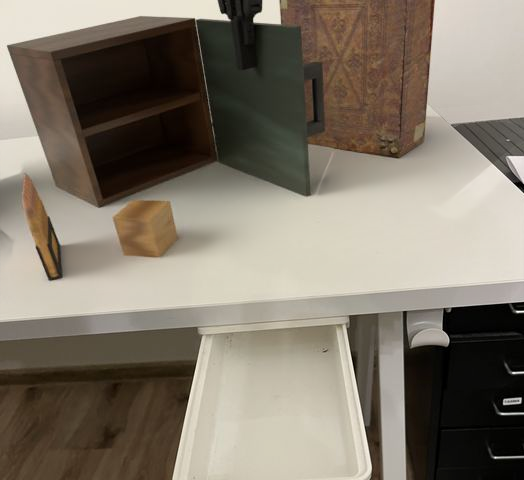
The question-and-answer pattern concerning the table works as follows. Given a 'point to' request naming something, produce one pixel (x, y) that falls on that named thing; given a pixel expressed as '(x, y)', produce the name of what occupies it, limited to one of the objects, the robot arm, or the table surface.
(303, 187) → the door
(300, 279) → the table surface
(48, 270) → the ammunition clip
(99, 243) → the table surface
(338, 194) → the table surface
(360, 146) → the book
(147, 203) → the oak block
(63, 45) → the cupboard
